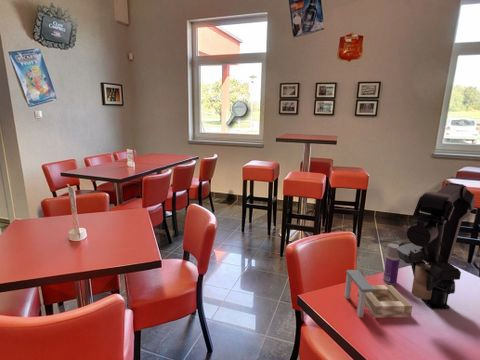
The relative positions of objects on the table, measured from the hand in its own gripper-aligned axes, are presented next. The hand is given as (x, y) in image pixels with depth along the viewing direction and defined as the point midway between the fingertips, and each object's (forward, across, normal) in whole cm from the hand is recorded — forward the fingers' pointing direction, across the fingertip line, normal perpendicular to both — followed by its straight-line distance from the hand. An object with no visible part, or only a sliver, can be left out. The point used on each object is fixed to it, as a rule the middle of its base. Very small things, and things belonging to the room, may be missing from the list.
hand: (422, 285), depth 88 cm
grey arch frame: (+13, -9, -15) cm, 22 cm away
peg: (+3, 0, 0) cm, 3 cm away
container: (+13, -24, +6) cm, 28 cm away
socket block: (+13, -9, -6) cm, 17 cm away
